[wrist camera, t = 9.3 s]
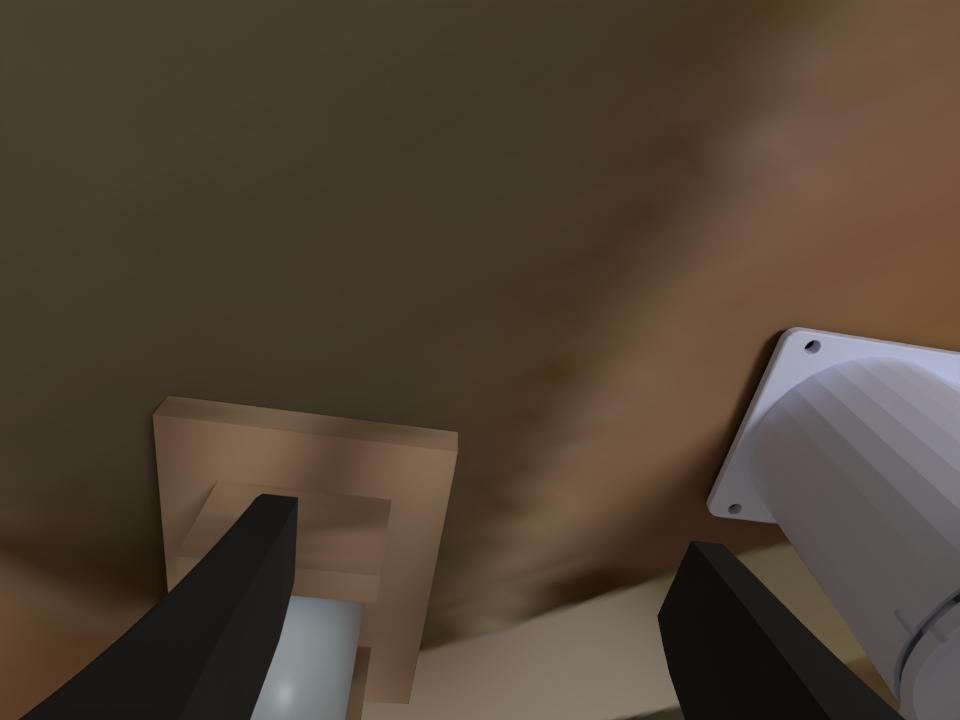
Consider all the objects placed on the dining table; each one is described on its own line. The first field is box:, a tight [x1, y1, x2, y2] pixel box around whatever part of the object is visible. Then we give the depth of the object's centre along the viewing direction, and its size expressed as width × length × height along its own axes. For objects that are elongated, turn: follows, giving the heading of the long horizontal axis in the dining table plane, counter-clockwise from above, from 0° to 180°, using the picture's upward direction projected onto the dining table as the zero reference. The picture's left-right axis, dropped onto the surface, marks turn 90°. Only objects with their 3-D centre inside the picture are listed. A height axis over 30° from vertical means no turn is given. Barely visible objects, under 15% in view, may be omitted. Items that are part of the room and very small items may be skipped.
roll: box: [250, 596, 365, 720], centre depth 20 cm, size 5×5×7 cm
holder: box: [153, 396, 458, 720], centre depth 22 cm, size 10×14×5 cm
